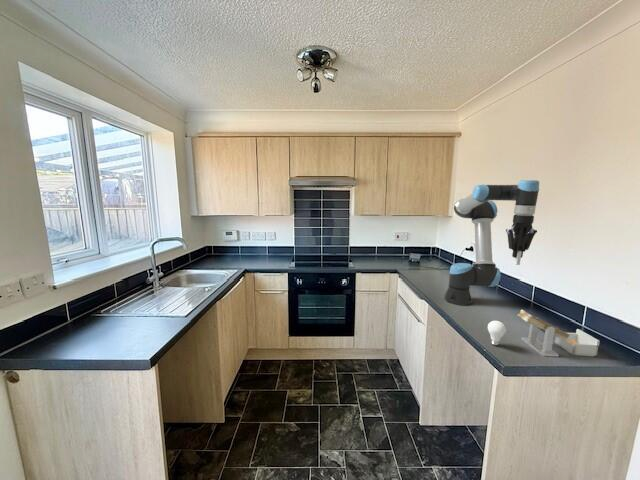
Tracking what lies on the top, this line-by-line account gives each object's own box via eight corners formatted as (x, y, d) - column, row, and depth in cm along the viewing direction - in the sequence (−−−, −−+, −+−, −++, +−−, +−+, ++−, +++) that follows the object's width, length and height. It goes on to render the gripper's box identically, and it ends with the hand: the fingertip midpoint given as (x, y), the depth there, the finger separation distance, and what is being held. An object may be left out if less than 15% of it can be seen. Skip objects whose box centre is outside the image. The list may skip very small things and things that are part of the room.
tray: (554, 342, 117) (556, 327, 116) (575, 343, 117) (578, 329, 115) (572, 355, 108) (575, 339, 107) (596, 356, 107) (599, 340, 106)
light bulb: (485, 345, 114) (488, 322, 112) (485, 339, 120) (488, 316, 118) (503, 350, 111) (507, 326, 109) (503, 343, 116) (506, 320, 114)
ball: (575, 338, 113) (574, 345, 114) (567, 338, 113) (566, 345, 114) (582, 342, 110) (580, 349, 110) (573, 342, 110) (572, 349, 111)
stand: (521, 338, 120) (524, 315, 118) (535, 339, 120) (538, 316, 118) (542, 355, 107) (546, 329, 105) (558, 356, 107) (562, 330, 105)
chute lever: (505, 309, 122) (510, 302, 122) (540, 326, 122) (545, 318, 122) (525, 324, 109) (531, 315, 108) (565, 342, 109) (571, 334, 108)
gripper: (515, 215, 117) (507, 266, 121) (545, 215, 116) (536, 266, 121) (504, 213, 124) (497, 261, 129) (532, 213, 124) (524, 262, 128)
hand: (516, 263), depth 125 cm, fingers closed
